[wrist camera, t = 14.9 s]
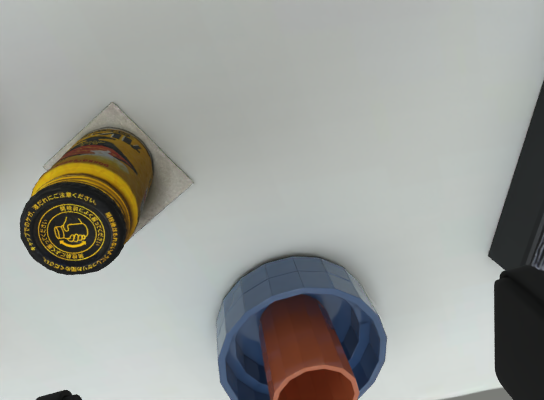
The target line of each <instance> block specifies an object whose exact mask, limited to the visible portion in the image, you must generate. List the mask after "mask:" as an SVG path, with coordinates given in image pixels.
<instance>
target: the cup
mask: <svg viewBox="0 0 544 400" xmlns="http://www.w3.org/2000/svg"><path fill="white" fill-rule="evenodd" d="M259 338H260V344H261V350H262V356H263V361H264V367H265V373H266V378H267V384H268V390H269V396H270V400H358V396H359V389H358V385H357V382H356V378H355V376H354V374H353V371H352V369H351V367H350V364H349V362H348V359H347V357H346V355H345V352H344V350H343V348H342V345H341V343H340V341H339V338H338V336H337V333H336V331H335V329H334V326H333V324H332V322H331V319H330V317H329V314H328V312H327V310H326V309H325V307H324V306H323V305H322V304H321V302H319V301H318V300H317V299H315V298H313V297H310V296H307V295H302V294H300V295H297V296H293V297H289V298H286V299H282V300H278V301H275V302H273V303H272V304H270V305H269V306H268V307H267V308H266V309H265V311H264V312H263V314H262V316H261V318H260V321H259Z"/></svg>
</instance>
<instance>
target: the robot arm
mask: <svg viewBox="0 0 544 400" xmlns="http://www.w3.org/2000/svg"><path fill="white" fill-rule="evenodd" d="M494 323H495V372H496V375H497V378H498V380H499V382H500V383H501V385H502V386H503V387H504V389H505V390H506V391H507V392H508V394H509V395H510V396H511V397H512V399H513V400H544V274H542V273H541V272H540V271H538V270H537V269H536V268H534V267H533V266H531V265H524V266H521V267H517V268H513V269H510V270H506V271H503V272H502V273H501V274H500V279H499V280H496V281H495V284H494ZM36 400H82V399H81V397H80V396H79V395H77V394H76V395H72V394H71V392H70V391H68V390H63V391H59V392H56V393H52V394H48V395H45V396H41V397H39V398H37V399H36Z"/></svg>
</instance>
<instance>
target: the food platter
mask: <svg viewBox="0 0 544 400" xmlns="http://www.w3.org/2000/svg"><path fill="white" fill-rule="evenodd" d="M488 256H489V257H490V258H491V259H492V260H494V261H495V262H496V263H497V264H498V265H500V266H501V267H502V268H503V269H504V270H510V269H513V268H517V267H521V266H524V265H531V266H533V267H534V268H536V269H537V270H538V271H540V272H541V273H542V274H544V82H543V85H542V88H541V92H540V95H539V98H538V101H537V104H536V107H535V110H534V114H533V117H532V120H531V123H530V126H529V129H528V132H527V136H526V139H525V142H524V145H523V148H522V151H521V154H520V157H519V161H518V164H517V167H516V170H515V173H514V176H513V179H512V183H511V186H510V189H509V192H508V195H507V198H506V201H505V205H504V208H503V211H502V214H501V217H500V220H499V223H498V227H497V230H496V233H495V236H494V239H493V242H492V245H491V248H490V252H489V255H488Z"/></svg>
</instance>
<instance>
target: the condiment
mask: <svg viewBox="0 0 544 400" xmlns="http://www.w3.org/2000/svg"><path fill="white" fill-rule="evenodd" d="M43 167H44V168H45V169H46V170H47V172H45V173H44V174H43V175H42V176H41V177H40V179H39V181H38V182H37V183H36V185H35V187H34V188H33V191H32V194H31V198H30V200H29V201H28V202H27V203H26V205H25V207H24V210H23V213H22V215H21V218H20V232H21V240H22V241H23V243H24V245H25V247H26V248H27V250H28V252H29V254H30V255H31V256H32V257H33V259H34V260H36V261H37V262H39V263H40V264H42V265H43V266H44V267H46V268H47V269H49V270H52V271H54V272H57V273H60V274H65V275H75V274H86V273H91V272H96V271H99V270H101V269H102V268H104V267H106V266H107V265H109V264H110V263H111V262H112V261H113V260H114V259H115V258H116V257H117V256H118V255H119V254H120V252H121V250H122V249H123V247H124V244H125V243H126V242H127V241H128V240H129V239H130V238H131V237H132V236H133V235H134V234H135V233H137V232H138V231H139V230H140V229H141V228H142V227H143V226H144V225H146V224H147V223H148V222H149V221H150V220H151V219H152V218H153V217H155V216H156V215H157V214H158V213H159V212H160V211H162V210H163V209H164V208H165V207H166V206H167V205H169V204H170V203H171V202H172V201H173V200H175V199H176V198H177V197H178V196H179V195H180V194H181V193H182V192H184V191H185V190H186V189H187V188H189V187H190V186H191V185H192V184H193V183H194V182H193V181H192V180H191V179H190V178H188V177H187V176H186V175H185V174H184V173H183V171H182V170H180V169H179V168H178V167H177V166H176V165H175V164H174V163H173V162H172V161H171V160H170V159H169V158H168V157H167V156H166V155H165V154H164V153H163V152H162V151H161V150H160V149H159V148H158V147H157V146H156V144H155V143H154V142H153V141H152V140H151V139H150V138H149V137H148V136H147V135H146V134H145V133H143V132H142V130H141V129H140V128H139V127H137V126H136V124H135V123H134V122H133V121H132V120H131V119H129V118H128V117H127V116H126V115H125V114H124V113H123V112H122V111H121V110H120V109H119V108H118V107H117V106H116V105H115V104H114V103H113V102H112V103H111V104H109V105H108V106H107V107H106V108H105V109H104V110H103V111H102V112H101V113H100V114H99V115H98V116H97V117H95V118H94V119H93V120H92V121H91V122H90V123H89V124H88V125H87V126H86V127H85V128H84V129H83V130H81V131H80V132H79V133H78V134H77V135H76V136H75V137H74V138H73V139H72V140H71V141H70V142H69V143H68V144H66V145H65V146H64V147H63V148H62V149H61V150H60V151H59V152H58V153H57V154H56V155H55V156H54V157H52V158H51V159H50V160H49V161H48V162H47V163H46V164H45V165H44V166H43Z"/></svg>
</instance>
